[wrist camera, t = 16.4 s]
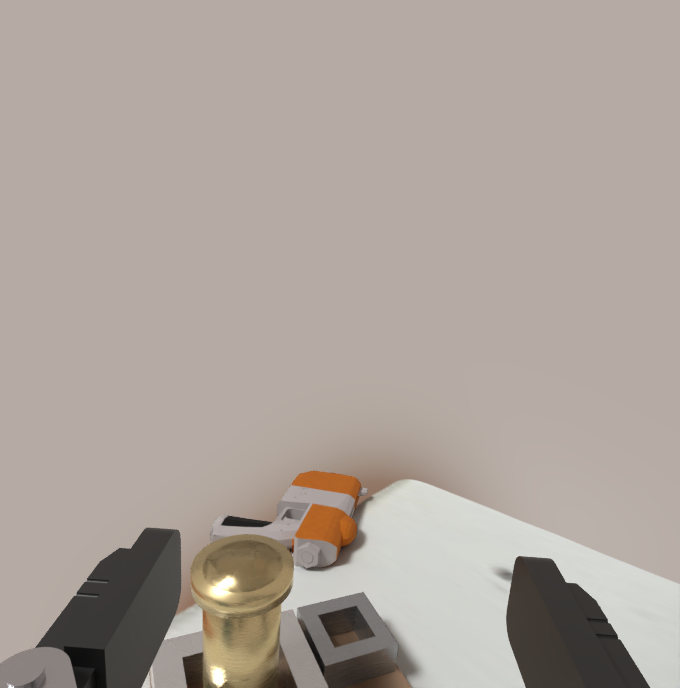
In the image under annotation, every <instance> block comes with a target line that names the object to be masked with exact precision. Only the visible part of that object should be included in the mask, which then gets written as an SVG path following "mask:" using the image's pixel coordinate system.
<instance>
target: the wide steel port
mask: <svg viewBox="0 0 680 688" xmlns="http://www.w3.org/2000/svg"><path fill="white" fill-rule="evenodd" d="M150 673H151V684H152V688H187V685H188V684H191V683H195V682H198V681H202V680H203V631H201V632H197V633H192V634H188V635H184V636H180V637H176V638H172V639H167V640H163V642H162V644H161V646H160V648H159V650H158V653H157V655H156V657H155V659H154V661H153V663H152V666H151V668H150ZM279 674H280V677H281V679H282V682H283V685H284V688H328V685H327V683H326V681H325V679H324V677H323V675H322V672H321V670H320V668H319V666H318V664H317V662H316V659H315V657H314V655H313V653H312V651H311V649H310V646H309V644H308V642H307V640H306V638H305V636H304V633H303V631H302V629H301V627H300V625H299V622H298V620H297V618H296V616H295V614H294V612H293V609H292V610H288V611H284V612H281V621H280V646H279Z"/></svg>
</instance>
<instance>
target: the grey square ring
mask: <svg viewBox="0 0 680 688" xmlns="http://www.w3.org/2000/svg"><path fill="white" fill-rule="evenodd" d="M297 620H298V622H299V625H300V627H301V629H302V631H303V633H304V636H305V638H306V640H307V642H308V644H309V646H310V649H311V651H312V653H313V655H314V657H315V659H316V662H317V664H318V666H319V668H320V670H321V672H322V675H323V677H324V679H325V681H326V683H327V685H328V688H345V687H348V686H351V685H354V684H357V683H360V682H364V681H367V680H370V679H373V678H376V677H379V676H382V675H385V674H389V673H392V672H395V667H396V659H397V651H398V643H397V642H396V640H395V639H394V637H393V636H392V634H391V633H390V631H389V630H388V628H387V627H386V625H385V624H384V622H383V621H382V619H381V618H380V616H379V615H378V613H377V612H376V610H375V609H374V607H373V606H372V604H371V603H370V601H369V600H368V598H367V597H366V595H365V594H364V592H362V593H357V594H353V595H349V596H345V597H341V598H337V599H332V600H328V601H324V602H320V603H316V604H311V605H307V606H303V607H299V608H297ZM351 631H354V632H355V634H356V635H357V637H358V639H359V640H360V641H357V642H353V643H350V644H346V645H343V646H339V647H336V648H334V646H333V644H332V642H331V640H330V638H329V637H333V636H336V635H340V634H344V633H347V632H351Z"/></svg>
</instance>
